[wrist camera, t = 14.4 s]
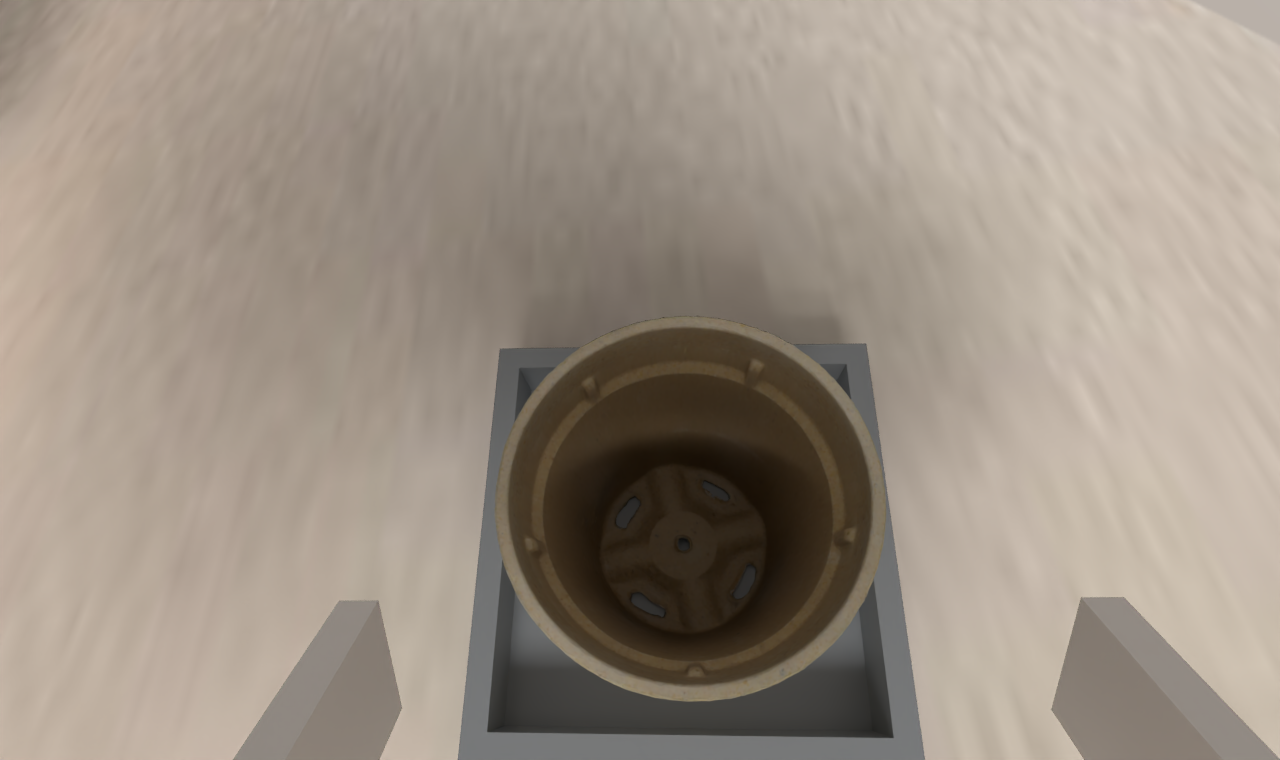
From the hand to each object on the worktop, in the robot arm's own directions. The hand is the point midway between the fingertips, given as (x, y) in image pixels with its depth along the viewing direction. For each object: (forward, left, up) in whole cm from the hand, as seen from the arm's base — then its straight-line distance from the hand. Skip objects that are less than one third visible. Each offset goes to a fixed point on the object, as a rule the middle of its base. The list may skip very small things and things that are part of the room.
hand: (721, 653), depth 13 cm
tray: (-1, +4, -11) cm, 12 cm away
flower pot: (-1, +4, -11) cm, 11 cm away
